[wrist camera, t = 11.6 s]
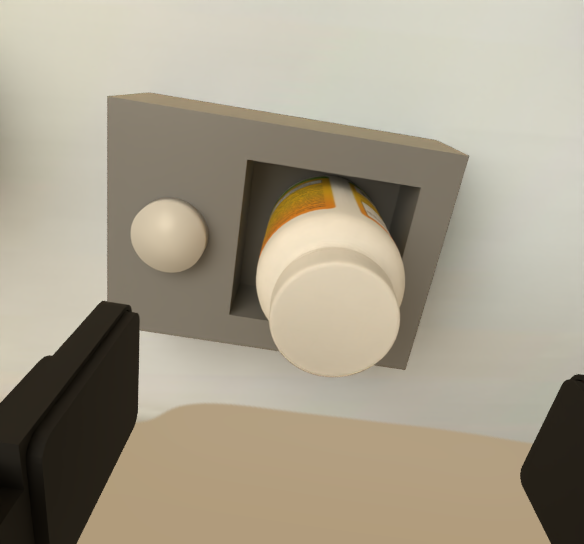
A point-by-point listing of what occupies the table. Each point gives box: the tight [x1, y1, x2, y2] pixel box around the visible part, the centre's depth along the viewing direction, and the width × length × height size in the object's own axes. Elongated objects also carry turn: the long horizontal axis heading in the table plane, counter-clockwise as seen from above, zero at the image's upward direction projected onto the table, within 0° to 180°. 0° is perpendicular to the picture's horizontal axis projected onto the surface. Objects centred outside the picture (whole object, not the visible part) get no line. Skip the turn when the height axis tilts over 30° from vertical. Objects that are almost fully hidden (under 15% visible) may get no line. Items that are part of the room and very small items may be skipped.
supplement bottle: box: [256, 175, 405, 377], centre depth 18 cm, size 5×5×10 cm
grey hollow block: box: [107, 93, 469, 370], centre depth 22 cm, size 14×10×6 cm
